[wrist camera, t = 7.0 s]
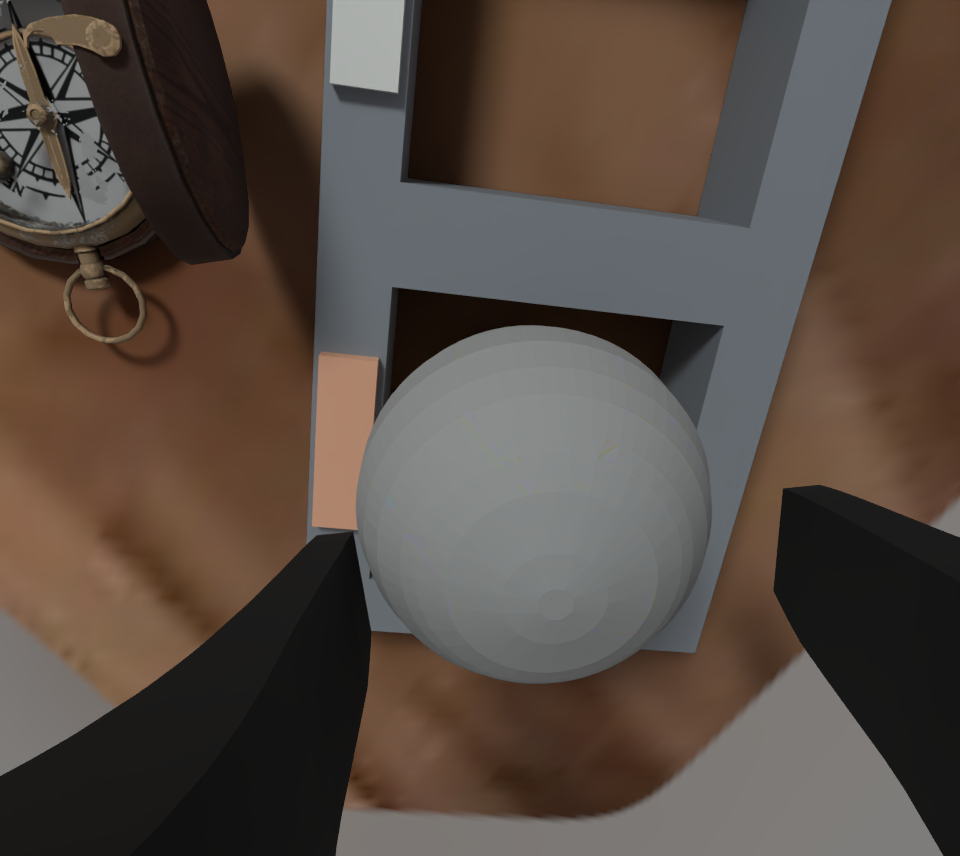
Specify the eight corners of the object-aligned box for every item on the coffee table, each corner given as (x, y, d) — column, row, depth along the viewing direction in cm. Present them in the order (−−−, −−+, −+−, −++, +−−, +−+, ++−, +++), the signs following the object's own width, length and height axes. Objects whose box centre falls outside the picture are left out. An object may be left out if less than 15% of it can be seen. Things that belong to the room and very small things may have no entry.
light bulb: (591, 467, 19) (732, 772, 9) (393, 461, 18) (334, 770, 9) (616, 267, 17) (828, 400, 7) (394, 256, 16) (321, 380, 7)
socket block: (874, -219, 13) (1002, -332, 10) (660, 584, 20) (698, 661, 17) (366, -321, 12) (340, -478, 9) (323, 558, 19) (301, 634, 16)
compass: (-142, -25, 14) (-706, -202, 7) (241, -74, 14) (48, -299, 7) (7, 351, 17) (-287, 481, 10) (322, 309, 17) (242, 411, 10)
